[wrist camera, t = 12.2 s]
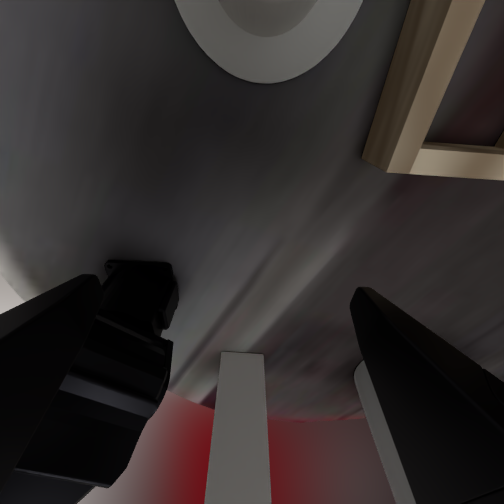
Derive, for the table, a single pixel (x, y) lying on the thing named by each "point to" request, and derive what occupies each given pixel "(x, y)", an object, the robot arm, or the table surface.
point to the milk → (239, 434)
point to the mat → (267, 39)
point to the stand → (427, 97)
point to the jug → (267, 15)
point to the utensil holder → (382, 437)
